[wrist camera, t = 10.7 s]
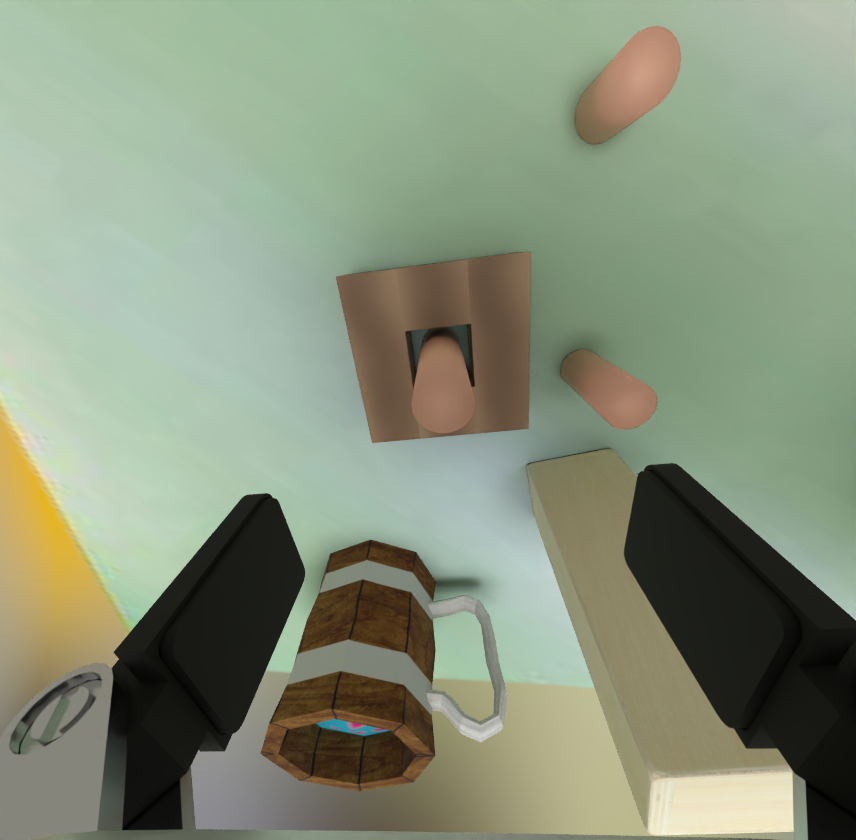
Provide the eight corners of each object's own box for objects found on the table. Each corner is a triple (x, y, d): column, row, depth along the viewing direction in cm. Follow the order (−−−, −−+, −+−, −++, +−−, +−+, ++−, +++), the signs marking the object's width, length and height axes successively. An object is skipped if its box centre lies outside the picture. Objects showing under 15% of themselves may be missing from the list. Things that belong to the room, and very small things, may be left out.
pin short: (629, 75, 19) (687, 20, 15) (622, 140, 21) (673, 107, 16) (576, 84, 20) (617, 32, 15) (573, 147, 21) (609, 117, 16)
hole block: (516, 252, 24) (531, 251, 20) (517, 407, 29) (528, 428, 25) (350, 274, 24) (335, 276, 21) (380, 420, 30) (372, 442, 26)
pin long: (457, 324, 26) (472, 371, 15) (460, 361, 27) (476, 430, 16) (419, 328, 26) (407, 378, 15) (424, 365, 27) (415, 435, 17)
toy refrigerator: (532, 522, 34) (647, 846, 15) (523, 463, 31) (652, 778, 12) (613, 508, 33) (842, 838, 14) (611, 446, 30) (900, 762, 11)
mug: (331, 619, 42) (281, 789, 29) (309, 540, 36) (233, 708, 23) (487, 618, 41) (511, 793, 28) (490, 537, 35) (523, 709, 22)
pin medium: (600, 347, 26) (661, 380, 19) (596, 383, 28) (652, 427, 20) (561, 351, 27) (607, 386, 19) (559, 386, 28) (602, 431, 21)
